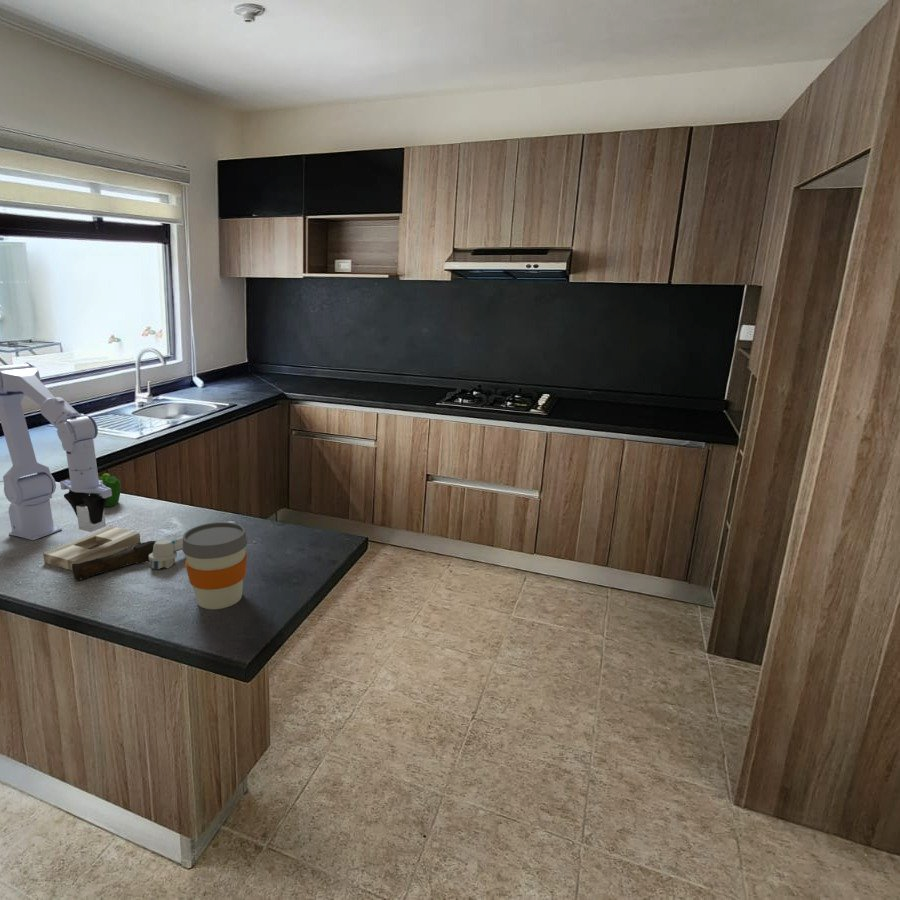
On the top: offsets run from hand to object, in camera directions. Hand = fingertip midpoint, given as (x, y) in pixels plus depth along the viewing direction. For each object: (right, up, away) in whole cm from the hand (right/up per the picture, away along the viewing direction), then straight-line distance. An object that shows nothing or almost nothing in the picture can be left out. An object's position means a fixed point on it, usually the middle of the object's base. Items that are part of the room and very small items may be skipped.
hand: (90, 521), depth 144 cm
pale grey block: (0, -2, +1) cm, 2 cm away
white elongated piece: (+24, -8, +5) cm, 26 cm away
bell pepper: (-15, +1, +32) cm, 36 cm away
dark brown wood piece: (+10, -11, -4) cm, 15 cm away
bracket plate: (0, -8, +2) cm, 8 cm away
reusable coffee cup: (+38, -15, -17) cm, 44 cm away
